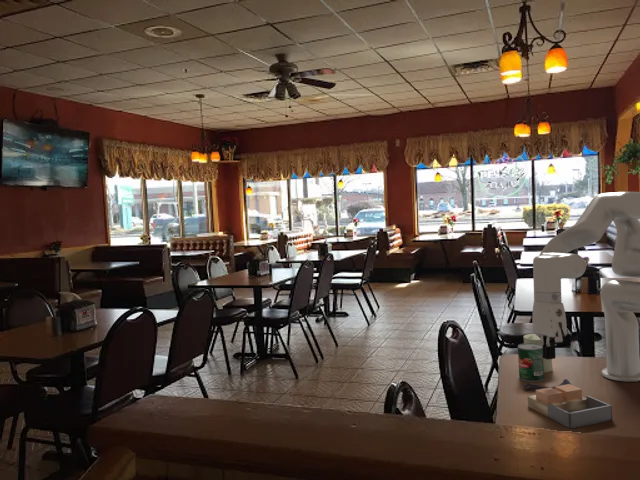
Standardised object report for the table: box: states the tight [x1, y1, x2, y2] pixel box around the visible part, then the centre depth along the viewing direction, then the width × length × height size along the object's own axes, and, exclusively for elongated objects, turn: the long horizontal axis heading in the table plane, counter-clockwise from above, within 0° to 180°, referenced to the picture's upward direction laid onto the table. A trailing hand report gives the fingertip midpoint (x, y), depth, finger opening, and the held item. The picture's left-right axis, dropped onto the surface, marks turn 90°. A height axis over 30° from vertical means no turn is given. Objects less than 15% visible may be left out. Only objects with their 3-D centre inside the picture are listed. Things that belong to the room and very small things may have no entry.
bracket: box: [523, 378, 573, 392], centre depth 172 cm, size 14×15×3 cm
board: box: [527, 394, 587, 418], centre depth 157 cm, size 13×9×3 cm
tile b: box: [535, 386, 563, 404], centre depth 155 cm, size 5×5×2 cm
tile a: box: [554, 383, 583, 401], centre depth 157 cm, size 5×5×2 cm
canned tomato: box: [517, 343, 545, 383], centre depth 183 cm, size 8×8×11 cm
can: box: [522, 333, 554, 374], centre depth 193 cm, size 9×9×12 cm
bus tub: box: [547, 395, 613, 429], centre depth 148 cm, size 14×8×4 cm, turn 106°
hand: (549, 358), depth 163 cm, fingers closed
